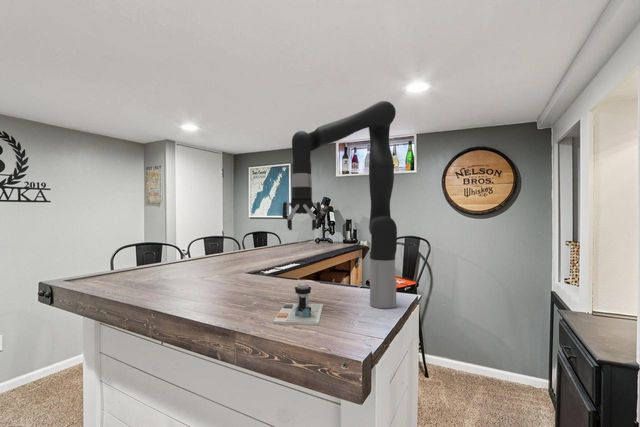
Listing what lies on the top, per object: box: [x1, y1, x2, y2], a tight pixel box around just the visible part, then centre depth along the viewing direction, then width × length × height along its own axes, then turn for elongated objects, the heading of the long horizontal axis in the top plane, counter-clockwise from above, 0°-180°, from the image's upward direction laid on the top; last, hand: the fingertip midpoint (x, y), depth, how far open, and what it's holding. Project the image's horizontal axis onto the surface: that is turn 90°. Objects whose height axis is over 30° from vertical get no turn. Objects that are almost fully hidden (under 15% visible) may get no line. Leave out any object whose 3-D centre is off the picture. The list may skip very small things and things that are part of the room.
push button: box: [294, 283, 315, 317], centre depth 99 cm, size 7×5×10 cm
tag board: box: [272, 302, 324, 326], centre depth 104 cm, size 14×20×1 cm
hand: (301, 230), depth 115 cm, fingers open, 8 cm apart
